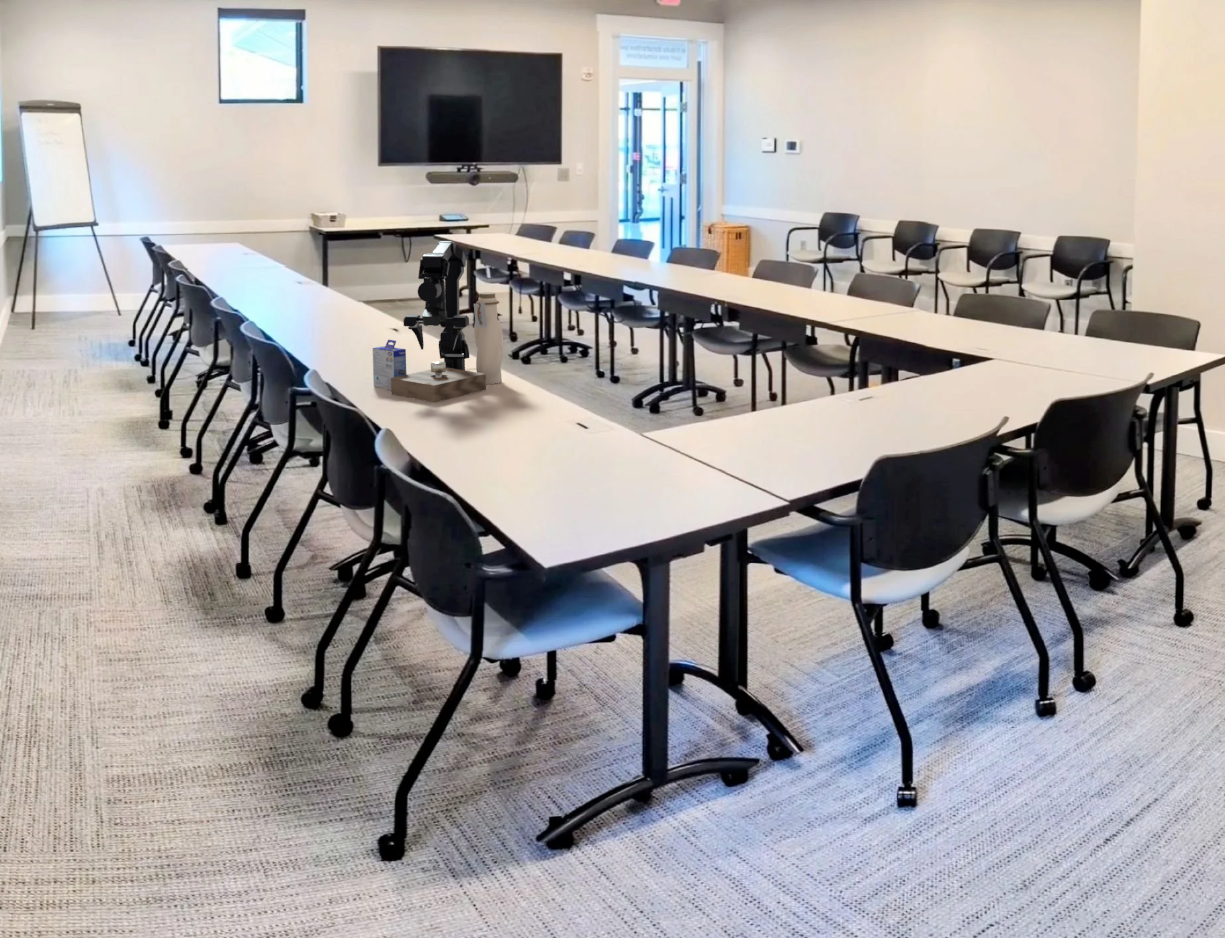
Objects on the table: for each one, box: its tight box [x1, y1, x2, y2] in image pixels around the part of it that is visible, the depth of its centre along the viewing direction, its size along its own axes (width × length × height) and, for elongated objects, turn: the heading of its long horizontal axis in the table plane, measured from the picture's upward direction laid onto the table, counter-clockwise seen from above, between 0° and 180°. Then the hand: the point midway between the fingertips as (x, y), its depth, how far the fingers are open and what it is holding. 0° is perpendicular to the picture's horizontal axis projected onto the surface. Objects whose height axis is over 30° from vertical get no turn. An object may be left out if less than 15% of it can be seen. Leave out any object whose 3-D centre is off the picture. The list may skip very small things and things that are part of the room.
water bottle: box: [473, 291, 504, 385], centre depth 353 cm, size 10×9×28 cm
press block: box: [390, 368, 487, 403], centre depth 342 cm, size 22×18×5 cm
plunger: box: [430, 360, 446, 378], centre depth 341 cm, size 4×4×9 cm
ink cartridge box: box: [372, 339, 407, 390], centre depth 347 cm, size 10×6×14 cm, turn 53°
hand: (437, 349), depth 339 cm, fingers open, 9 cm apart
